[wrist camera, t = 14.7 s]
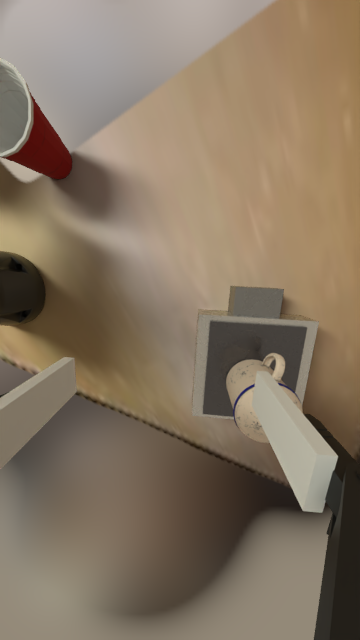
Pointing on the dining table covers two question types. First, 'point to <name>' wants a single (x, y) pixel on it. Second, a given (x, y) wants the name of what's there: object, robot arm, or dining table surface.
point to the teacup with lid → (242, 391)
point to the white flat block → (248, 346)
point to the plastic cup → (28, 129)
